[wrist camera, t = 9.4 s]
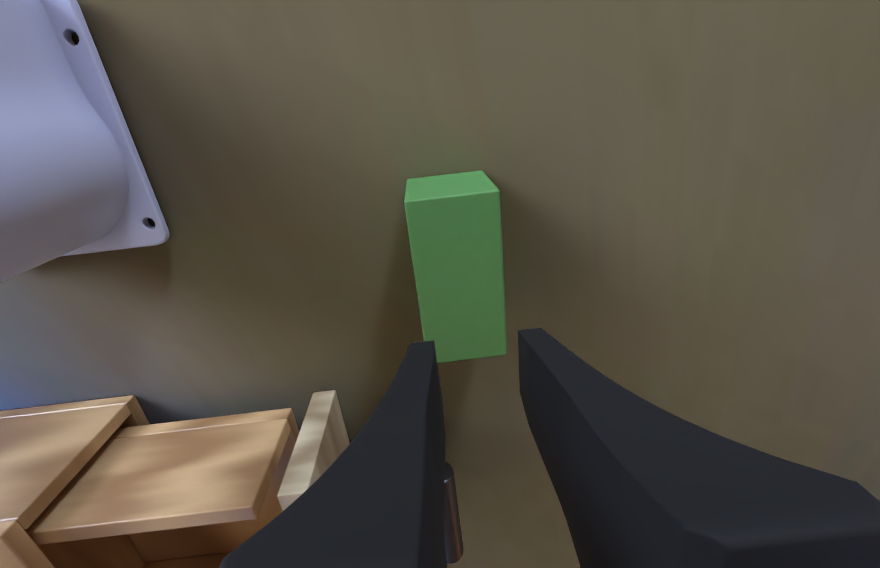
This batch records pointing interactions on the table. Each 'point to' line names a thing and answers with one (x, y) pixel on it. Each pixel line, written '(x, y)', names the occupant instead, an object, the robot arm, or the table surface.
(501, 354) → the green block
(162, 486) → the drawer
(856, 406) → the table surface
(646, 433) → the robot arm
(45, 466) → the cabinet
